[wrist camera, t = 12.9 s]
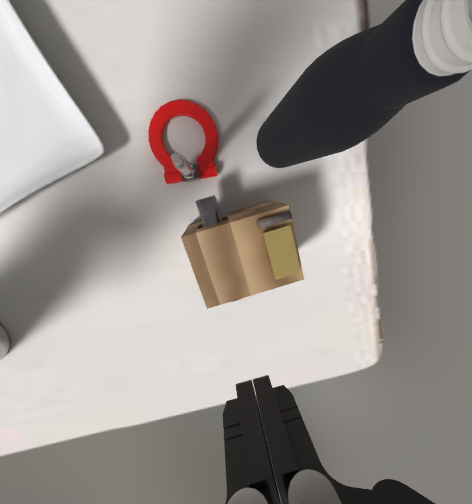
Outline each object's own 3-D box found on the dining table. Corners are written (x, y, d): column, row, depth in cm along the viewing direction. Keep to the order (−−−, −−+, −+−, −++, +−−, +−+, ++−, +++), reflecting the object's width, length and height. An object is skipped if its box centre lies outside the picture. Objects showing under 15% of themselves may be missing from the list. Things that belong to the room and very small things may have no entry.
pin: (248, 280, 33) (253, 295, 29) (218, 289, 33) (219, 305, 28) (222, 192, 29) (224, 193, 25) (188, 202, 29) (184, 205, 25)
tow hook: (143, 108, 28) (161, 186, 30) (85, 34, 15) (123, 177, 17) (210, 99, 28) (223, 176, 30) (208, 19, 16) (230, 160, 18)
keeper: (274, 278, 26) (275, 280, 25) (262, 232, 25) (263, 233, 24) (299, 270, 26) (301, 272, 25) (288, 224, 25) (290, 225, 24)
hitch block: (208, 281, 34) (206, 312, 26) (188, 225, 32) (179, 239, 23) (283, 258, 34) (307, 282, 26) (270, 200, 32) (291, 205, 23)
